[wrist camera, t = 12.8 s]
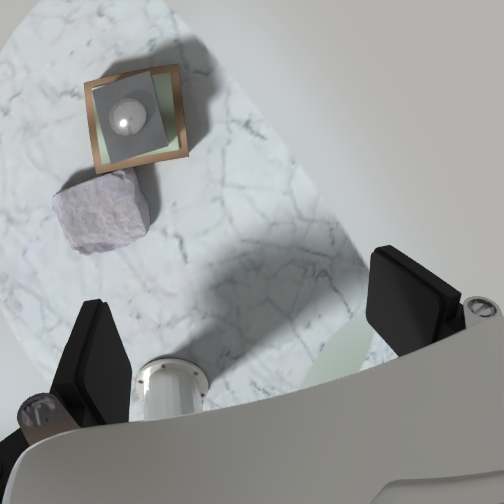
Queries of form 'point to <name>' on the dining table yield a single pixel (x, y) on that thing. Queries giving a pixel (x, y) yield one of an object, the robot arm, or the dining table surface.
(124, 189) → the stone block
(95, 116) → the stand
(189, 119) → the dining table surface
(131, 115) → the housing
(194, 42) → the dining table surface
